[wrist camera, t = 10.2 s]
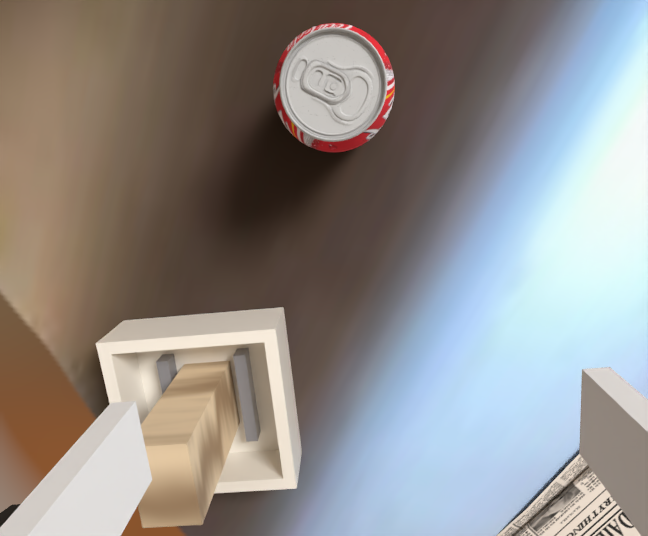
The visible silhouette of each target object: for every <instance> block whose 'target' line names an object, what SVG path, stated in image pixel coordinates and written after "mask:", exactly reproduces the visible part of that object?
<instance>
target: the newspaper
mask: <svg viewBox="0 0 648 536" xmlns="http://www.w3.org/2000/svg"><path fill="white" fill-rule="evenodd" d="M497 536H641V535H640V533H639V532H638V531H637V529H636V528H635V527H634V525H633V524H632V523H631V521H630V520H629V519H628V517H627V516H626V515H625V513H624V512H623V511H622V509H621V508H620V507H619V505H618V504H617V503H616V501H615V500H614V499H613V498H612V496H611V495H610V494H609V492H608V491H607V490H606V488H605V487H604V486H603V484H602V483H601V482H600V480H599V479H598V478H597V476H596V475H595V474H594V472H593V471H592V470H591V468H590V467H589V466H588V464H587V463H586V462H585V460H584V459H583V458H582V456H581V455H580V454H578V456H577V457H576V458H575V459H574V460H573V461H572V462H571V463H570V464H569V465H568V466H567V467H566V468H565V469H564V470H563V471H562V472H561V473H560V474H559V475H558V476H557V478H556V479H555V480H554V481H553V482H552V483H551V484H550V485H549V486H548V487H547V488H546V489H545V490H544V491H543V492H542V493H541V494H540V495H539V496H538V497H537V498H536V500H535V501H534V502H533V503H532V504H531V505H530V506H529V507H528V508H527V509H526V510H525V511H524V512H523V513H521V514H520V515H519V516H518V517H517V518H516V519H515V520H514V521H512V522H511V523H510V524H509V525H508V526H507V527H506V528H505V529H503V530H502V531H501V532H500V533H499V534H498V535H497Z"/></svg>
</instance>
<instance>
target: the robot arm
mask: <svg viewBox="0 0 648 536" xmlns="http://www.w3.org/2000/svg"><path fill="white" fill-rule="evenodd" d="M579 454H580V455H581V456H582V458H583V459H584V460H585V462H586V463H587V464H588V466H589V467H590V468H591V470H592V471H593V472H594V474H595V475H596V476H597V478H598V479H599V480H600V482H601V483H602V484H603V486H604V487H605V488H606V490H607V491H608V492H609V494H610V495H611V496H612V498H613V499H614V500H615V501H616V503H617V504H618V505H619V507H620V508H621V509H622V511H623V512H624V513H625V515H626V516H627V517H628V519H629V520H630V521H631V523H632V524H633V525H634V527H635V528H636V529H637V531H638V532H639V533H640V535H641V536H648V399H646V398H645V397H644V396H643V395H642V394H641V393H639V392H638V391H637V390H636V389H635V388H634V387H632V386H631V385H630V384H629V383H628V382H627V381H625V380H624V379H623V378H622V377H621V376H619V375H618V374H617V373H616V372H615V371H614V370H612V369H611V368H610V367H606V368H592V369H582V389H581V421H580V452H579ZM151 481H152V476H151V471H150V466H149V462H148V457H147V452H146V448H145V443H144V438H143V434H142V429H141V424H140V420H139V415H138V410H137V406H136V401H129V402H115V403H110V404H109V406H108V407H107V408H106V409H105V410H104V411H103V412H102V413H101V415H100V416H99V417H98V418H97V419H96V420H95V421H94V423H93V424H92V425H91V426H90V427H89V428H88V429H87V431H86V432H85V433H84V434H83V435H82V436H81V437H80V438H79V439H78V440H77V442H76V443H75V444H74V445H73V446H72V447H71V448H70V449H69V451H68V452H67V453H66V454H65V455H64V456H63V458H62V459H61V460H60V461H59V462H58V463H57V464H56V465H55V467H54V468H53V469H52V470H51V471H50V472H49V473H48V474H47V475H46V477H45V478H44V479H43V480H42V481H41V482H40V483H39V484H38V486H37V487H36V488H35V489H34V490H33V491H32V492H31V493H30V495H29V496H28V497H27V498H26V499H25V500H24V501H23V502H22V504H18V505H11V506H10V507H8V508H7V509H5V510H4V511H3V512H1V513H0V536H121V534H122V532H123V531H124V529H125V527H126V525H127V523H128V522H129V520H130V518H131V516H132V515H133V513H134V511H135V509H136V508H137V506H138V504H139V502H140V500H141V499H142V497H143V495H144V493H145V492H146V490H147V488H148V486H149V485H150V483H151Z"/></svg>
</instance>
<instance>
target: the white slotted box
mask: <svg viewBox="0 0 648 536" xmlns="http://www.w3.org/2000/svg"><path fill="white" fill-rule="evenodd" d="M96 346H97V351H98V355H99V360H100V364H101V368H102V373H103V377H104V381H105V386H106V390H107V395H108V399H109V403H115V402H129V401H136V406H137V410H138V415H139V420H140V424H142V423H143V421H144V420H145V419H146V417H147V416H148V414H149V413H150V412H151V410H152V409H153V407H154V406H155V405H156V403H157V402H158V400H159V399H160V398H161V396H162V395H163V393H164V392H165V391H166V389H167V388H168V386H169V385H170V384H171V382H172V381H173V379H174V378H175V376H176V375H177V374H178V372H179V371H180V369H181V368H182V367H183V365H184V364H192V363H205V362H218V361H230V364H231V370H232V376H233V383H234V389H235V395H236V401H237V408H238V414H239V420H240V424H239V427H238V429H237V432H236V435H235V437H234V440H233V443H232V446H231V448H230V451H229V454H228V456H227V459H226V462H225V465H224V467H223V470H222V473H221V475H220V478H219V481H218V484H217V486H216V489H215V492H214V493H228V492H244V491H261V490H278V489H295V488H297V483H298V475H299V468H300V461H301V453H302V449H301V441H300V434H299V426H298V418H297V410H296V402H295V394H294V386H293V378H292V370H291V362H290V355H289V347H288V339H287V331H286V323H285V315H284V307H281V308H269V309H257V310H245V311H232V312H220V313H208V314H196V315H184V316H172V317H160V318H148V319H136V320H124V321H123V322H121V323H120V324H119V325H118V326H116V327H115V328H114V329H113V330H112V331H110V332H109V333H108V334H107V335H105V336H104V337H103V338H102V339H101V340H99V341H98V342H97V343H96Z"/></svg>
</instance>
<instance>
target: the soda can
mask: <svg viewBox="0 0 648 536" xmlns="http://www.w3.org/2000/svg"><path fill="white" fill-rule="evenodd" d="M394 91H395V83H394V75H393V70H392V66H391V64H390V61H389V59H388V57H387V55H386V53H385V52H384V50H383V48H382V47H381V46H380V45H379V43H378V42H377V41H376V40H375V39H374V38H372V37H371V36H370V35H369V34H367V33H366V32H364V31H362V30H361V29H358V28H356V27H354V26H351V25H346V24H340V23H329V24H322V25H319V26H315V27H312V28H310V29H308V30H306V31H304V32H303V33H302V34H300V35H299V36H297V37H296V38H295V39H294V40H293V41H292V42H291V43H290V44H289V45H288V47H287V48H286V49H285V51H284V52H283V54H282V56H281V58H280V60H279V62H278V65H277V68H276V71H275V76H274V82H273V93H274V101H275V105H276V109H277V112H278V114H279V116H280V118H281V120H282V122H283V123H284V125H285V127H286V128H287V129H288V130H289V132H290V133H291V134H292V135H293V136H294V137H296V138H297V139H298V140H299V141H301V142H302V143H304V144H305V145H307V146H309V147H311V148H314V149H316V150H320V151H324V152H344V151H348V150H352V149H354V148H357V147H359V146H361V145H363V144H364V143H366V142H367V141H369V140H370V139H371V138H372V137H373V136H374V135H375V134H376V133H377V132H378V131H379V130H380V128H381V127H382V126H383V124H384V123H385V121H386V119H387V117H388V115H389V113H390V110H391V108H392V104H393V99H394Z"/></svg>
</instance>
